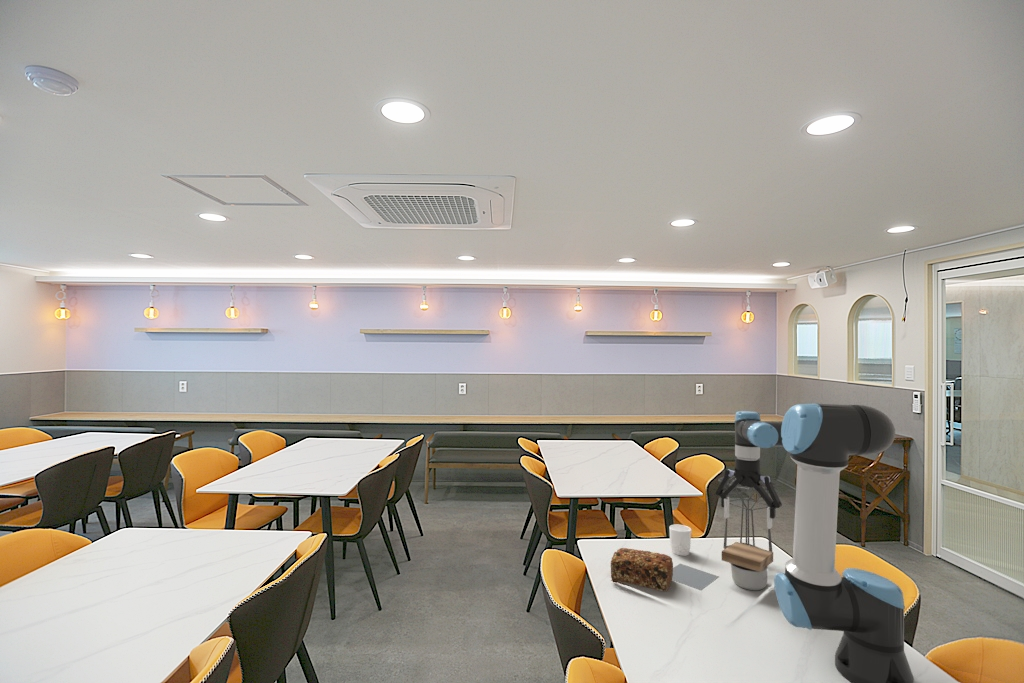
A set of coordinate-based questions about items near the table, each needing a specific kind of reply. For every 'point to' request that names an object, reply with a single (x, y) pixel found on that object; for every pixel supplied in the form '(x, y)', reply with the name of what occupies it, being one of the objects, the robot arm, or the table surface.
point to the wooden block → (747, 556)
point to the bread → (642, 568)
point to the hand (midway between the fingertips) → (747, 522)
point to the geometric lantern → (747, 511)
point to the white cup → (680, 539)
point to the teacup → (749, 577)
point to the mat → (692, 576)
